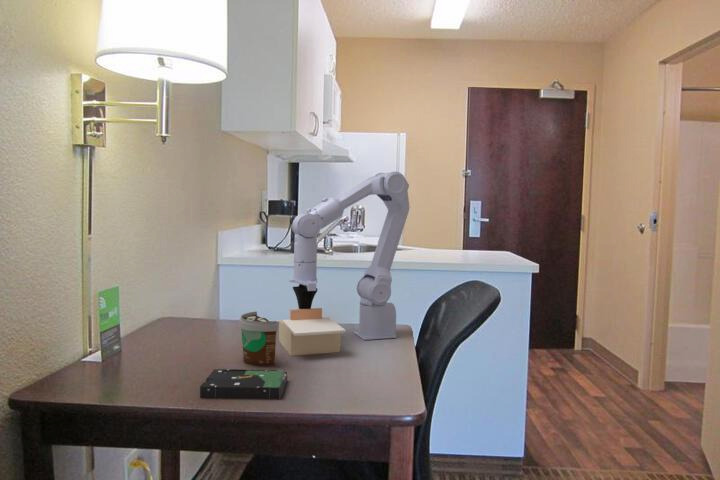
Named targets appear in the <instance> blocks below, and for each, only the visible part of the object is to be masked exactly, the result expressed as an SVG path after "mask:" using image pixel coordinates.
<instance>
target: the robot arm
mask: <svg viewBox="0 0 720 480" xmlns="http://www.w3.org/2000/svg"><path fill="white" fill-rule="evenodd" d="M409 186H410V184H409V181H407V179H406V177H405V175H403V173H401V172H399V171H391V172H378V173H377V174H375V175H373V176H370V177H368V178H366V179H364V180H363V181H361V182H360V183H359V184H357V185H356V186H354V187H353V188H351V189H350V190H347V192H345V193H344V194H342V195H340V196H339V197H338V198H335V197H332V196H331V197H324V198H323V199H321V202H320V203H319V204H317V205H315V206H314V207H312V208H311V207H309V208H307V209H306V210H305V211H306V213H301V214H298V215H297V216H295V217H294V220H293V221H292V224H291V225H290V227H291V230H292V232H293V233H294V242H293V247H294V248H293V278H288V282H290V283H295V284H298V285H297V286H292V290H293V292H294V294H295V296H296V300H297V306H298V309H312V305H313V300H314V298H315V296H316V293H317V292H318V288H317V283H318V278H317V274H318V273H317V264H318V263H317V261H318V259H317V258H318V253H317V252H318V240H317V239H318V238H317V237H318V235H319V234H320V232H321V230H323V229H324V228H326V227H328V226H329V225H330V224H332V223H333V222H335V221H337V220H339V219H340V218H342V217H343V215H344V210H346V209H348V208H349V207H351V206H353V205H355V204H356V203H358V202H360V201H362V200H363V199H365V198H367V197H368V196H371V195H372V196H374V195H376V196H377V197H378V198H379V199H380V200H382V202H383V204H384V206H385V207H386V209H387V213H386V217H385V220H384V223H383V225H382V228H381V230H380V231H381V232H380V235H379V238H378V240H377V244H376V248H375V250H374V254H373V257H372V260H371V263H370V265H369V266H368V267H367V268H366V269H365V271H364V273H363V276H362V277H361V278H360V279H359V281H358V282H357V283H356V292H357V295H358V296H359V297H360V300H359V319H358V321H359V324H358V325H359V326H358V329H359V330H355V331H353V333H354V334H355V335H356V336H358V337H359V338H361V339H362V340H364V341H370V340H382V339H394V338H395V339H396V338H397V333H396V332H397V311H396V310H397V309H396V306H395V305H394V304H395V303H392V302H388V301H389V300H390V298H391V295H392V289H391V288H392V287H391V285H392V282H393V278H392V275H391V272H390V271H391V267H392V265H393V262H394V259H395V256H396V252H397V249H398V246H399V243H400V240H401V237H402V234H403V231H404V227H405V224H406V221H407V218H408V215H409V212H410V200H409V199H410V198H409V192H408V190H409V188H410V187H409Z"/></svg>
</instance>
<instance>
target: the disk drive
mask: <svg viewBox="0 0 720 480" xmlns="http://www.w3.org/2000/svg"><path fill="white" fill-rule="evenodd" d="M287 382H288V371H287V370H285V371H284V370H278V369H238V368H237V369H230V368H229V369H228V368H218V369H217V368H214V369H213V370H212V371H211V372H210V374H209V375H208V376H207V377H206V379H205V382H204V381H203V382H202V383H201V384H200V386H199V398H201V399H244V400H245V399H249V400H250V399H252V400H253V399H254V400H256V399H257V400H258V399H259V400H261V399H262V400H281V399H282V396H283V394H284V390H285V388H286V386H287Z"/></svg>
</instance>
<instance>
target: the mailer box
mask: <svg viewBox="0 0 720 480" xmlns="http://www.w3.org/2000/svg"><path fill="white" fill-rule="evenodd" d="M282 320H283V319H279V320H278V342H279V343H280V344H281V345H282V347H283V348H284V349H285V350H286V352H287V353H288V354H289V355H290V356H292V357H293V356H304V355H305V356H306V355H307V356H308V355H320V354H329V353H330V354H331V353H340V352H341V333H334V334H319V335H304V336H294V335H293V334H292V332H291V331H290V330H289V329H288V328H287V327H286V326H285V325H284V324H283V323H282Z"/></svg>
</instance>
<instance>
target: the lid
mask: <svg viewBox="0 0 720 480" xmlns="http://www.w3.org/2000/svg"><path fill="white" fill-rule="evenodd" d="M281 320H282V323H283V324H284V325H285V326H286V327H287V328H288V329H289V330H290V331H291V332H292V334H293V335H294V336H304V335H319V334H334V333H340V334H344V333H345V334H346V332H347V331H346V329H345V328H343V327H342V325H339V324H338V323H336V322H335V321H334V320H333V319H331V318H330V317H327V316H326V317H323V309H322V307H317V308H315V307H314V308H311V309H299V308H298V309H297V308H296V309H290V311H289V319H281Z"/></svg>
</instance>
